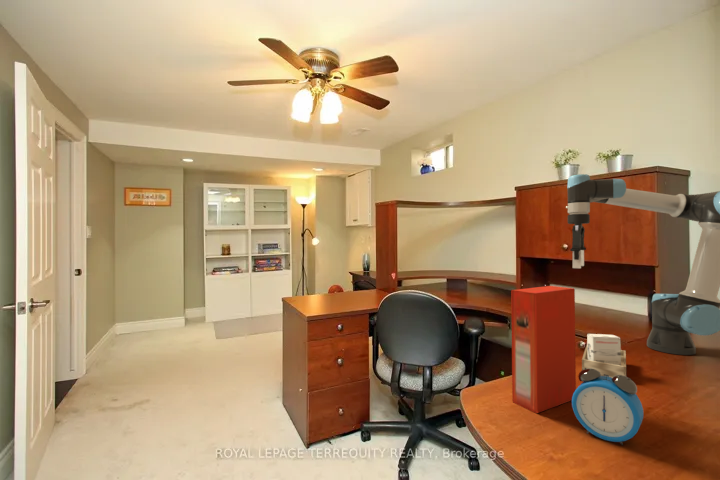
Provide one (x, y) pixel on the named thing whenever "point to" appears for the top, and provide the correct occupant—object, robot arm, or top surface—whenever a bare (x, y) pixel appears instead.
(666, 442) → the top surface
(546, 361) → the file binder
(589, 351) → the ink box
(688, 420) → the top surface
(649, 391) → the top surface
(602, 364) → the desk organizer
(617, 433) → the alarm clock
